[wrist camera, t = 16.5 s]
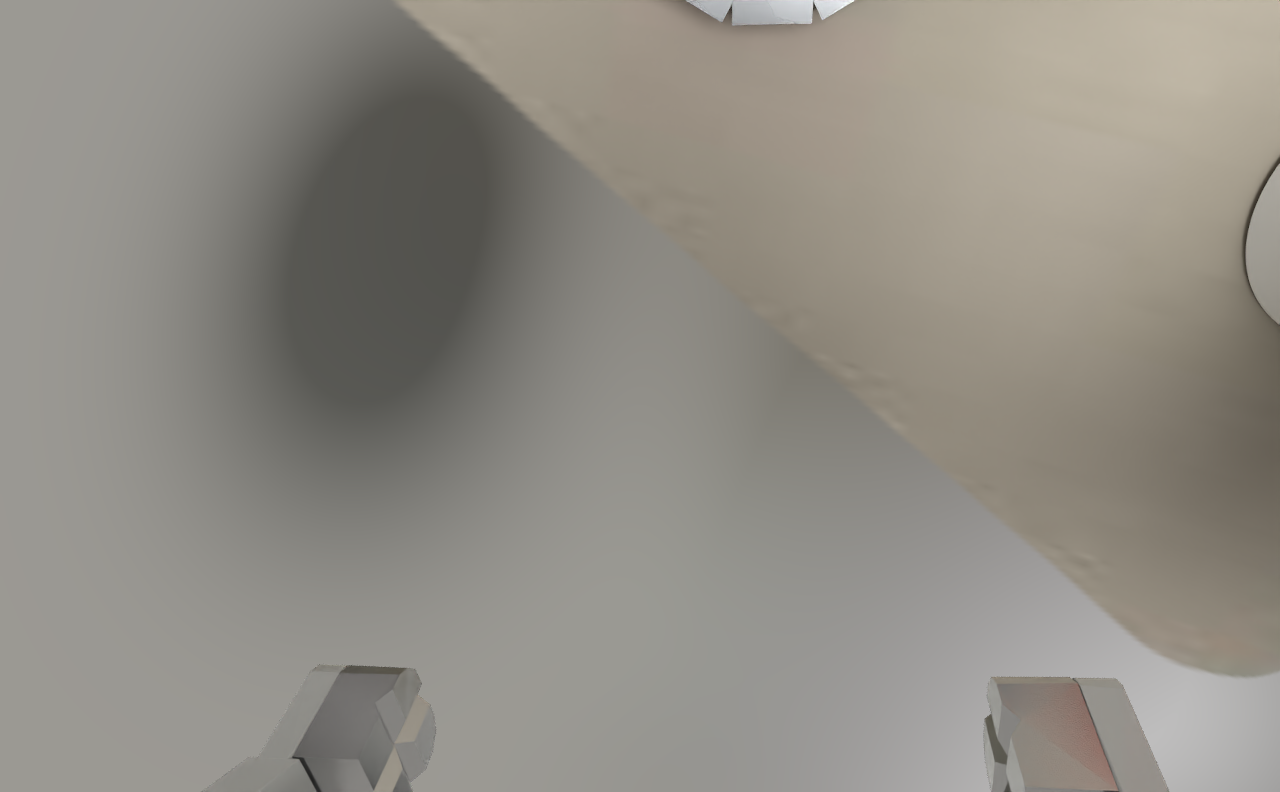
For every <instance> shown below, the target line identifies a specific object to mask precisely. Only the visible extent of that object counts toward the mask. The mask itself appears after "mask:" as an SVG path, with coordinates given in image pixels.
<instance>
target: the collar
mask: <svg viewBox="0 0 1280 792" xmlns="http://www.w3.org/2000/svg"><path fill="white" fill-rule="evenodd" d="M685 1H687V2H689V3H690V4H692V5H694V6H695V7H697V8H699V9H700V10H702V11H704V12H705V13H707V14H709V15H710V16H712V17H714V18H715V19H717V20H718V21H720V22H722V21H723V20H724V18H725V16H726V14H727V12H728V10H729V8H730V7H731V5H732V25H765V24H808V23H812V13H813V2H814V4H815V6H816V8H817V10H818V12H819V14H820V16H821V18H822V20H824V19H825V18H827V17H828V16H830V15H832V14H833V13H835V12H837V11H838V10H840V9H842V8H843V7H845V6H846V5H848V4H850V3H851V2H853V1H855V0H685Z"/></svg>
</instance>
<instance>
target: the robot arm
mask: <svg viewBox="0 0 1280 792" xmlns="http://www.w3.org/2000/svg"><path fill="white" fill-rule="evenodd" d="M1246 267H1247V273H1248V278H1249V282H1250V285H1251V288H1252V290H1253V292H1254V295H1255V297H1256V299H1257V300H1258V302H1259V303H1260V305H1261V306H1262V308H1263V309H1264V310H1265V312H1266V313H1267V314H1268V315H1269V316H1270V317H1271V318H1272V319H1273V320H1274V321H1275V322H1276V323H1278V324H1279V325H1280V164H1279V165H1278V166H1277V168H1276V169H1275V171H1274V172H1273V174H1272V175H1271V177H1270V178H1269V180H1268V182H1267V184H1266V186H1265V187H1264V189H1263V191H1262V193H1261V195H1260V197H1259V200H1258V202H1257V204H1256V207H1255V209H1254V212H1253V215H1252V218H1251V221H1250V226H1249V230H1248V235H1247V242H1246ZM421 685H422V683H421V681H420V678H419V676H418V674H417V672H416V670H415V669H412V668H397V667H396V668H395V667H376V666H352V665H320V664H319V665H318V666H317V667H315V668H314V669H313V670H312V671H310V672H309V673H308V675H307V677H306V678H305V680H304V682H303V683H302V685H301V686H300V688H299V690H298V691H297V693H296V695H295V697H294V698H293V700H292V701H291V703H290V705H289V706H288V708H287V709H286V711H285V713H284V714H283V716H282V718H281V719H280V721H279V723H278V724H277V726H276V727H275V729H274V731H273V733H272V734H271V736H270V737H269V739H268V741H267V742H266V744H265V745H264V747H263V749H262V750H261V752H260V754H259V756H258V757H248V758H247V759H245V760H244V761H243V762H241V763H240V764H238V765H237V766H236V767H235V768H233V769H232V770H230V771H229V772H228V773H226V774H225V775H223V776H222V777H221V778H219V779H218V780H217V781H216V782H214V783H213V784H211V785H210V786H209V787H207V788H206V789H205V790H203V791H202V792H413V789H412V786H411V782H412V781H413V780H414V779H415V778H416V777H418V776H419V775H420V774H421V773H422V772H423V771H424V770H426V768H427V765H428V763H429V760H430V758H431V755H432V752H433V748H434V740H435V734H436V726H435V717H434V713H433V711H432V708H431V705H430V704H429V703H428V702H427V701H425V700H424V699H423V698H422V697H420V696H419V695H418V692H419V690H420V687H421ZM987 698H988V702H989V707H990V711H991V714H990V715H989V716H987V717H986V718H985V721H984V755H985V763H986V768H987V774H988V779H989V784H990V788H991V792H1169V789H1168V787H1167V785H1166V783H1165V780H1164V778H1163V776H1162V774H1161V771H1160V769H1159V767H1158V765H1157V762H1156V760H1155V758H1154V755H1153V753H1152V751H1151V749H1150V746H1149V744H1148V742H1147V739H1146V737H1145V735H1144V733H1143V730H1142V728H1141V726H1140V724H1139V721H1138V719H1137V717H1136V714H1135V712H1134V710H1133V708H1132V705H1131V703H1130V701H1129V699H1128V696H1127V694H1126V692H1125V689H1124V687H1123V685H1122V684H1121V683H1120V682H1119V681H1118V680H1117V679H1107V678H1102V679H1101V678H1073V679H1071V678H1070V677H991V678H990V681H989V683H988V691H987Z"/></svg>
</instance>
